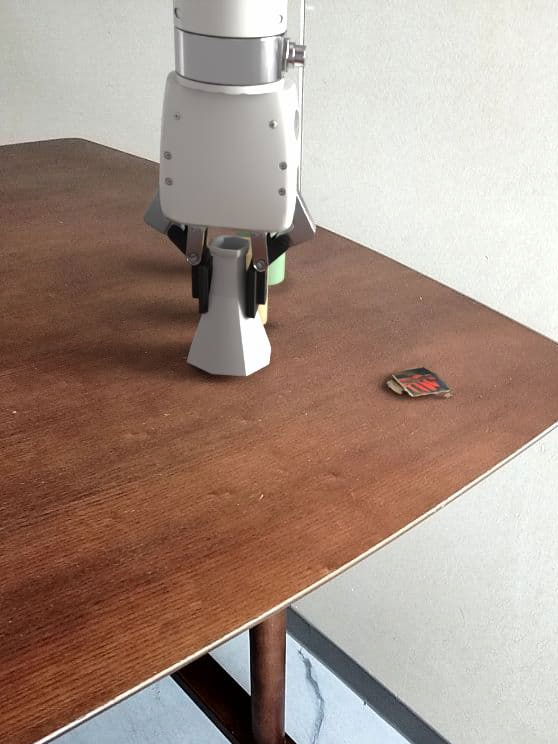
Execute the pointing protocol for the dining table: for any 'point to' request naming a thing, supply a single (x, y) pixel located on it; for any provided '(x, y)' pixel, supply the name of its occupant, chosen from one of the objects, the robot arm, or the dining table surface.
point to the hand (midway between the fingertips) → (229, 306)
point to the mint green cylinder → (276, 268)
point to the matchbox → (419, 382)
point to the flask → (229, 317)
